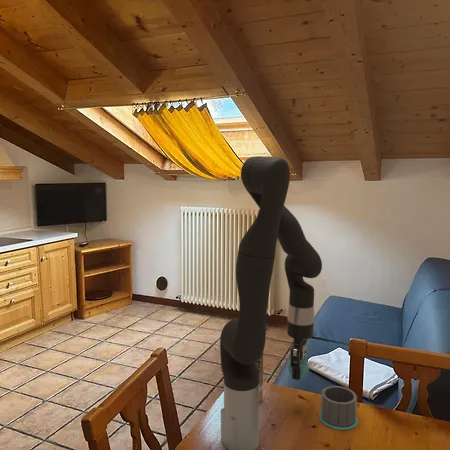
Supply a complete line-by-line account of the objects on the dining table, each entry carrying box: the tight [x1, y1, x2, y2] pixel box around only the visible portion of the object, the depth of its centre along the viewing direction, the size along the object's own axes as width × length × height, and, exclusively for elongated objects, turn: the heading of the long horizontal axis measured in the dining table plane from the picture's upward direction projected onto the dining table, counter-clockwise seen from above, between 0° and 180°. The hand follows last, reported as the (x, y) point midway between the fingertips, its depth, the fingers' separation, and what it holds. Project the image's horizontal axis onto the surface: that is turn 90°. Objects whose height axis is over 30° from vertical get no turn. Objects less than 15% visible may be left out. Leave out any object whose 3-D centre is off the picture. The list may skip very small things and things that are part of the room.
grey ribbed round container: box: [318, 385, 359, 431], centre depth 124 cm, size 11×11×7 cm
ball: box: [287, 359, 310, 380], centre depth 126 cm, size 6×6×6 cm
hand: (298, 373), depth 127 cm, fingers closed on ball, 6 cm apart
